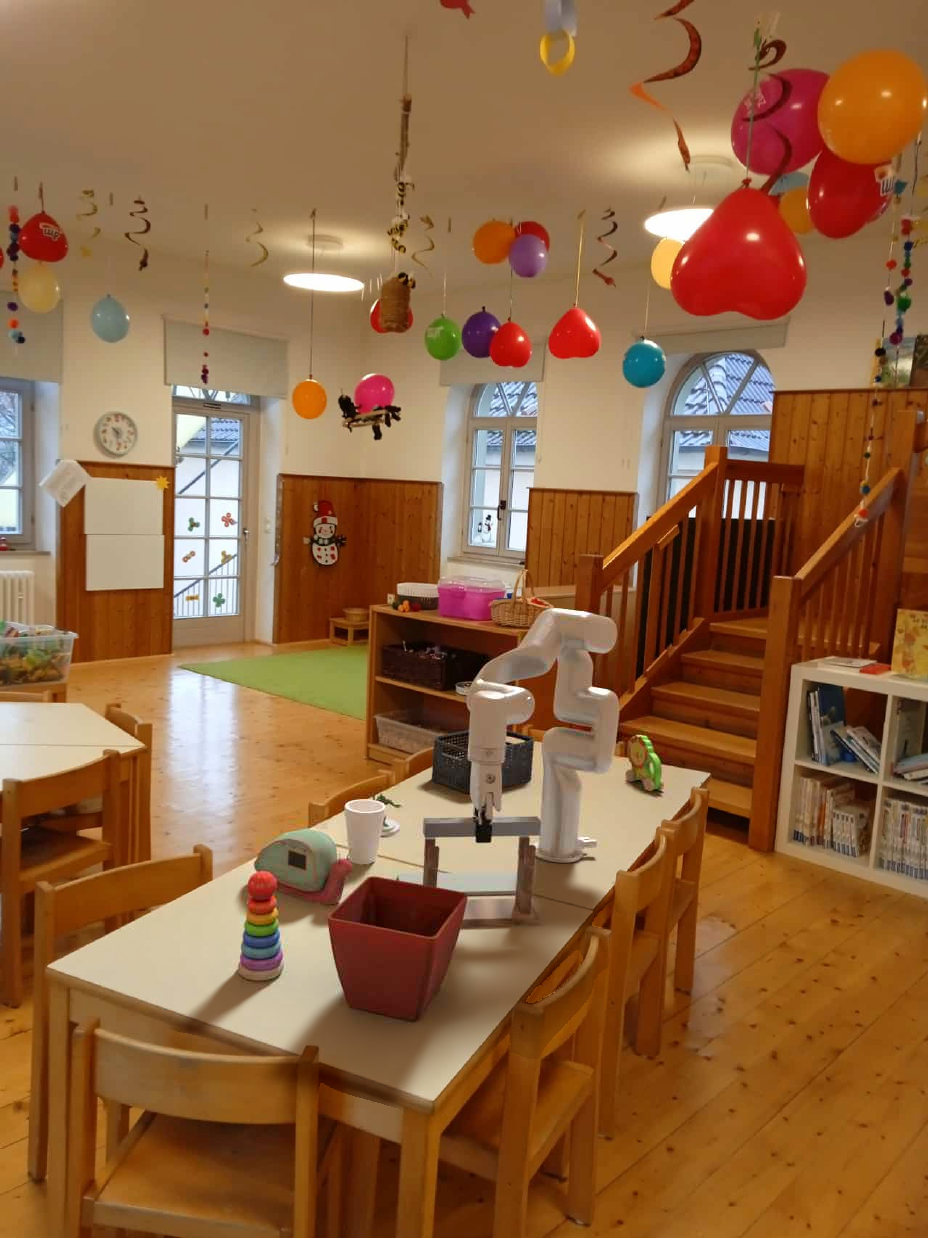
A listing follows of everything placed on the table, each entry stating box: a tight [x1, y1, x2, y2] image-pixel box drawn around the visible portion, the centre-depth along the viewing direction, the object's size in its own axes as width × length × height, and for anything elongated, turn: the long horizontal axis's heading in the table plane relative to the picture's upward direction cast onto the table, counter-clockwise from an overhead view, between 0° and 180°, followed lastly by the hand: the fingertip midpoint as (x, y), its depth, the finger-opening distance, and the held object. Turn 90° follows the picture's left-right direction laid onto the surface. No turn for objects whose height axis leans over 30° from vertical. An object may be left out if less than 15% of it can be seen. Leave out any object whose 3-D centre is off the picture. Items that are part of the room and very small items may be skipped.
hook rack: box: [423, 836, 541, 927], centre depth 194 cm, size 25×9×16 cm, turn 101°
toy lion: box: [625, 734, 665, 792], centre depth 291 cm, size 16×5×15 cm, turn 25°
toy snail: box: [253, 828, 354, 906], centre depth 200 cm, size 25×8×14 cm, turn 58°
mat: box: [396, 871, 517, 896], centre depth 209 cm, size 28×10×1 cm, turn 101°
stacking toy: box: [237, 871, 285, 982], centre depth 166 cm, size 8×8×19 cm
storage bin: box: [431, 729, 535, 794], centre depth 286 cm, size 29×19×13 cm
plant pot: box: [327, 875, 469, 1022], centre depth 161 cm, size 19×19×17 cm
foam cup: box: [344, 798, 387, 865], centre depth 219 cm, size 10×9×13 cm
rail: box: [422, 815, 541, 839], centre depth 192 cm, size 24×3×3 cm, turn 101°
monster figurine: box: [371, 789, 403, 837], centre depth 240 cm, size 12×12×10 cm
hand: (481, 838), depth 193 cm, fingers closed on rail, 3 cm apart
